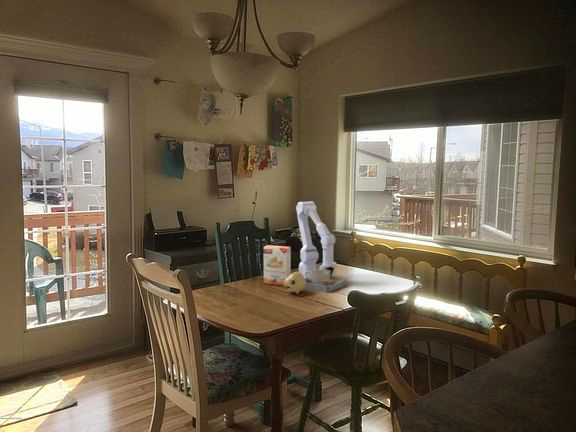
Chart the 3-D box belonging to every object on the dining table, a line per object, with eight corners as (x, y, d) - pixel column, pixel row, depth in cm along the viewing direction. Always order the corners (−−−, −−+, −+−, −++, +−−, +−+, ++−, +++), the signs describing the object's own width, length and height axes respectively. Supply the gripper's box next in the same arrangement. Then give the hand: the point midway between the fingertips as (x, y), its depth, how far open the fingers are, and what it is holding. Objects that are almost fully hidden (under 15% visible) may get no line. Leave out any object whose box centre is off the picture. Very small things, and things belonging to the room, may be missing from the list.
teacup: (332, 283, 252) (332, 269, 251) (327, 288, 242) (327, 273, 241) (308, 281, 257) (308, 267, 256) (302, 286, 247) (302, 271, 246)
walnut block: (322, 289, 239) (322, 280, 239) (326, 288, 243) (326, 279, 242) (329, 291, 237) (329, 281, 237) (333, 289, 240) (333, 280, 240)
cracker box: (263, 284, 252) (262, 246, 250) (267, 281, 257) (267, 244, 255) (286, 286, 246) (286, 248, 244) (291, 283, 252) (290, 246, 250)
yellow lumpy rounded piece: (279, 293, 233) (279, 272, 232) (295, 288, 242) (295, 268, 241) (293, 296, 226) (293, 275, 225) (309, 292, 235) (309, 271, 234)
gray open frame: (297, 287, 245) (297, 281, 245) (316, 280, 260) (316, 274, 260) (328, 292, 234) (328, 286, 234) (346, 284, 249) (346, 279, 249)
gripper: (327, 259, 245) (327, 284, 247) (341, 255, 257) (340, 278, 258) (316, 257, 249) (316, 282, 251) (330, 253, 261) (330, 277, 262)
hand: (328, 280), depth 255 cm, fingers closed
